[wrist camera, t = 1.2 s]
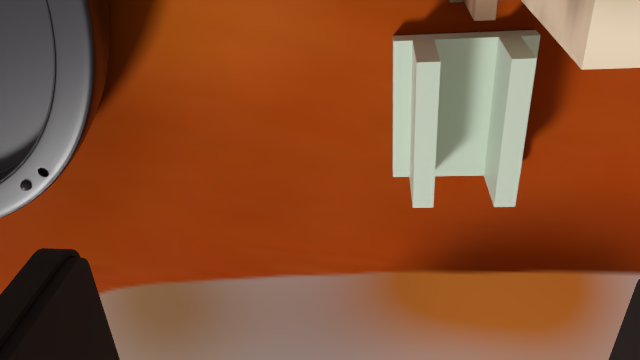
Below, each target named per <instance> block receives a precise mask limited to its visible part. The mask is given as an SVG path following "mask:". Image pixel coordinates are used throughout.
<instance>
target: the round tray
mask: <svg viewBox="0 0 640 360" xmlns="http://www.w3.org/2000/svg"><path fill="white" fill-rule="evenodd" d="M109 53H110V17H109V5H108V0H0V218H1V217H4V216H6V215H8V214H11V213H13V212H15V211H17V210H19V209H20V208H22V207H24V206H25V205H27V204H29V203H30V202H31V201H33V200H34V199H36V198H37V197H38V196H40V195H41V194H42V193H43V192H44V191H45V190H47V189H48V188H49V187H50V186H51V185H52V184H53V183H54V182H55V181H56V180H57V178H58V177H59V176H60V175H61V174H62V173H63V171H64V170H65V169H66V167H67V166H68V165H69V163H70V162H71V160H72V159H73V158H74V156H75V154H76V153H77V151H78V149H79V148H80V146H81V144H82V142H83V140H84V138H85V136H86V134H87V132H88V130H89V128H90V126H91V124H92V122H93V119H94V117H95V114H96V112H97V109H98V106H99V103H100V100H101V97H102V93H103V90H104V86H105V82H106V77H107V71H108V64H109Z"/></svg>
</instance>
